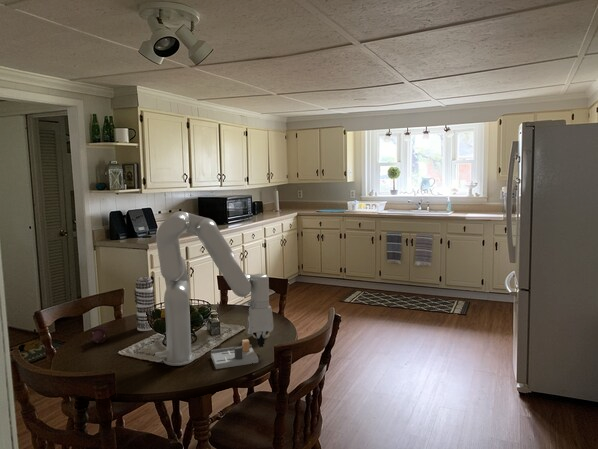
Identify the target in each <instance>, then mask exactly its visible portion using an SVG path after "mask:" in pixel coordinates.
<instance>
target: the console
mask: <svg viewBox="0 0 598 449" xmlns="http://www.w3.org/2000/svg"><path fill="white" fill-rule="evenodd" d="M240 346H241V347H242V345H240ZM235 347H236V346H232V347H225V348H216V349H210V358H211V360H212V363H213V365H214V368H215V370H218V369H225V368H230V367H231V368H232V367H238V366H245V365H251V364H252V363H253V364H257V363H259V356H258V355H257V353H256V352H255V351H254V349H253V346H252V344H250V351H247V352H244V351H243V349H242V359H237V360H236V358H235Z"/></svg>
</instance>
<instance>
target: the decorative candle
mask: <svg viewBox="0 0 598 449" xmlns="http://www.w3.org/2000/svg"><path fill="white" fill-rule="evenodd" d="M153 282H154V281H153V279H152V278H150V277H149V276H141V277H138V278H137V279H136V281H134V283H135V289H134V290H133V292H134V293H133V294H134V299H135V300H134V302H135V307H136V315H135V317H136V318H135V320H136V322H135V323H136V327H137V328H136V330H137V331H140V332H147V331H151V330H153V329H152V328H151V327H150V326H149V323H148V321H147V315H146V311H147V310H149V309H150V310H154V311H155V309H154V304H155V302H154V301H155V299H154V297H155V294H154V293H155V291H154V288H153Z"/></svg>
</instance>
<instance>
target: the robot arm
mask: <svg viewBox="0 0 598 449" xmlns="http://www.w3.org/2000/svg"><path fill="white" fill-rule="evenodd" d="M184 234H188V235H192V236H195V237H197V238H198V240H200V243H201V244H202V246H203V247H204V248H205V249H206V252H207V253H208V255H209V256H210V258H211V259H212V261H213V262H214V264H215V266H216V268H217V269H218V271H219V272H220V274H221V275H222V277H223V279H224V280H225V282H226V283H227V285H228V287H229V288H230V289H231V291H232V292H233V293H234V295H236V296H237V297H239V298H245V297H247V296H248V295H250V300H249V301H248V302H247V306H249V308H248V316H247V334H248V335H252V336H253V335H255V336H256V337H257V339H256V345H257V346H258V347H259V348H264V345H265V339H266V338H265V336H266V335H267V334H268V333H269V332H270V333H271V332H273V331H274V317H273V315H274V314H273V310H272V306H271V305H270V286H269V285H270V282H269V279H270V278H269V276H268V275H267V274H266V273H254V274H253V273H252V274H251V273H244V271H243V269H242V268H241V266H240V265H239V263H238V261H237V259H236V256H235V254H234V252H233V250H232V248H231V246H230V244H228V242H227V240H226V239H225V237H224V236H223V234H222V232H221V231H220V229H219V227H218V226H217V223H216V222H215V221H214V220H213V219H211V218H209V217H204V216H200V215H196V214H193V213H190V212H186V211H182V210H181V211H175V212H173V213H172V214H171V215H170V216H168V217H167V218H166V219H165V220H164V221H162V223H161V224H160V225H159V227H158V229H157V232H156V247H157V256H158V260H159V269H160V273H161V277H163V279H164V282H165V287H166V288H165V291H164V295H163V296H164V297H163V304H164V305H163V306H164V314H165V315H164V316H165V318H164V319H165V335H166V336H165V337H166V347H165V350H163V351H156V352H155V353H154V354H155V358H158V359H160V360H161V359H162V360H163V363H164V364H165V365H166V366H167V365H168V366H172V367H173V366H174V367H176V366H178V367H179V366H184V365H189V364H190V363H192V362H193V361H195V360H196V354H195V353H194V352H192V337H191V336H192V335H191V313H190V296H191V295H190V294H191V293H190V291H191V287H190V281H189V279H190V278H189V275H188V270H187V269H188V268H187V263H186V260H185V258H184V257H183V256H182V254H181V247H180V240H179V239H180V236H182V235H184ZM259 332H261V336H260V334H259ZM270 333H269V334H270ZM264 338H265V339H264Z"/></svg>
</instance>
